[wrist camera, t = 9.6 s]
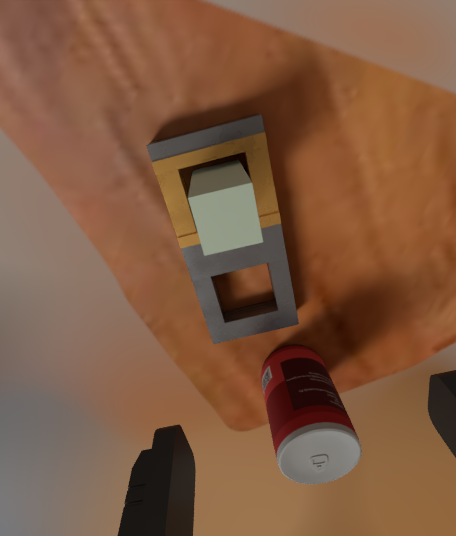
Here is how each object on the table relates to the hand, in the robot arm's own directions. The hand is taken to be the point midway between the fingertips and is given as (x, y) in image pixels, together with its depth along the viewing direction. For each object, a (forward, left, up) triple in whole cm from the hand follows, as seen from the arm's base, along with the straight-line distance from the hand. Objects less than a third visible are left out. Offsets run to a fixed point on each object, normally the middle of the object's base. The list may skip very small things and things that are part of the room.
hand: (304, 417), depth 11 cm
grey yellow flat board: (+1, +2, -22) cm, 22 cm away
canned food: (-2, +20, -22) cm, 30 cm away
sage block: (+1, -3, -22) cm, 22 cm away
